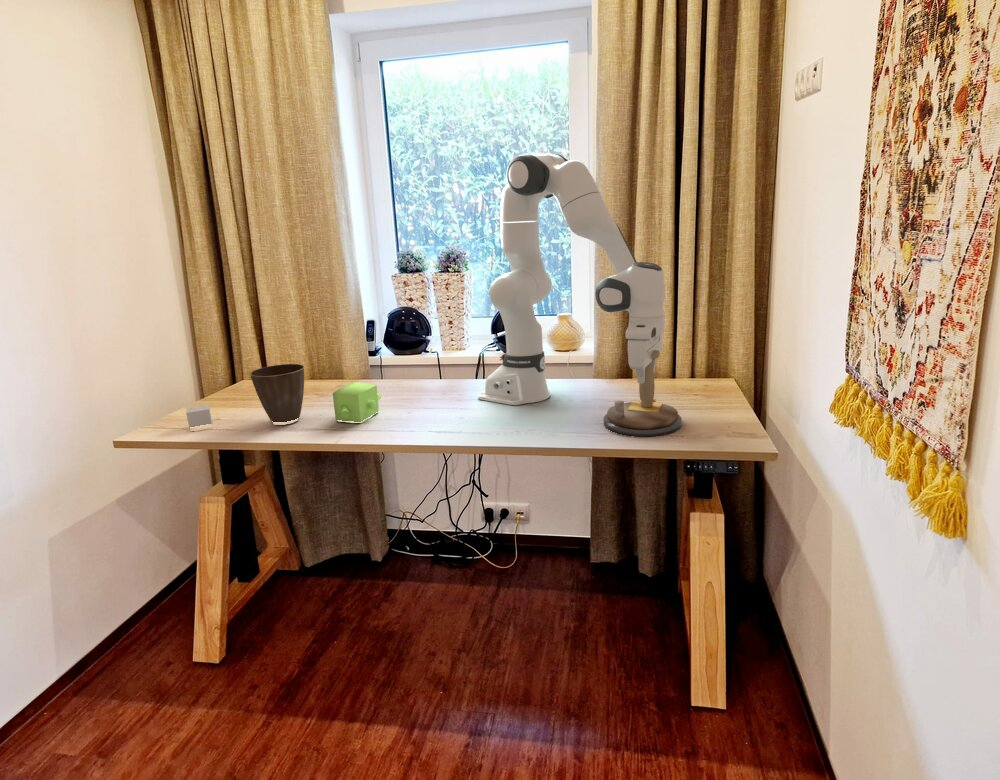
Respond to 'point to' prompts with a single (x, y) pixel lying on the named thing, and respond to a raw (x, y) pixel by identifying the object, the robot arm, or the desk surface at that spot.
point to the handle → (648, 383)
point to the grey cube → (199, 415)
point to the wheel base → (643, 432)
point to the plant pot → (280, 390)
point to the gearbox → (356, 402)
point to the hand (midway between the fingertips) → (646, 377)
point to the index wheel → (642, 415)
